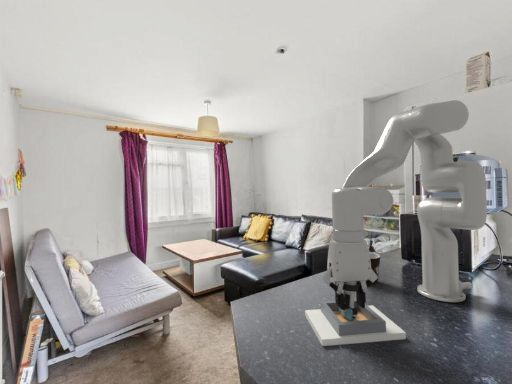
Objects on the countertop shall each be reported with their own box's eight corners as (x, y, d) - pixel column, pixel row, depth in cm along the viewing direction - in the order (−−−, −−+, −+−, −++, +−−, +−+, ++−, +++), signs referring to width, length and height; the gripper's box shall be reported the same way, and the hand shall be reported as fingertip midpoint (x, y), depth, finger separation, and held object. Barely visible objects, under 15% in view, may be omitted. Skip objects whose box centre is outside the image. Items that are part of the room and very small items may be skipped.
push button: (366, 322, 63) (369, 283, 62) (348, 325, 61) (351, 285, 60) (348, 309, 69) (350, 273, 68) (332, 312, 67) (334, 275, 67)
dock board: (372, 310, 72) (372, 296, 72) (405, 338, 58) (405, 321, 58) (305, 315, 71) (304, 301, 71) (322, 346, 57) (321, 328, 57)
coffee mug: (369, 276, 100) (368, 251, 100) (386, 284, 92) (385, 256, 92) (344, 280, 96) (343, 254, 96) (360, 288, 88) (359, 260, 88)
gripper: (371, 232, 69) (374, 298, 69) (311, 235, 67) (314, 302, 68) (388, 237, 61) (390, 311, 61) (321, 240, 60) (323, 316, 60)
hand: (350, 305), depth 65 cm, fingers open, 4 cm apart
